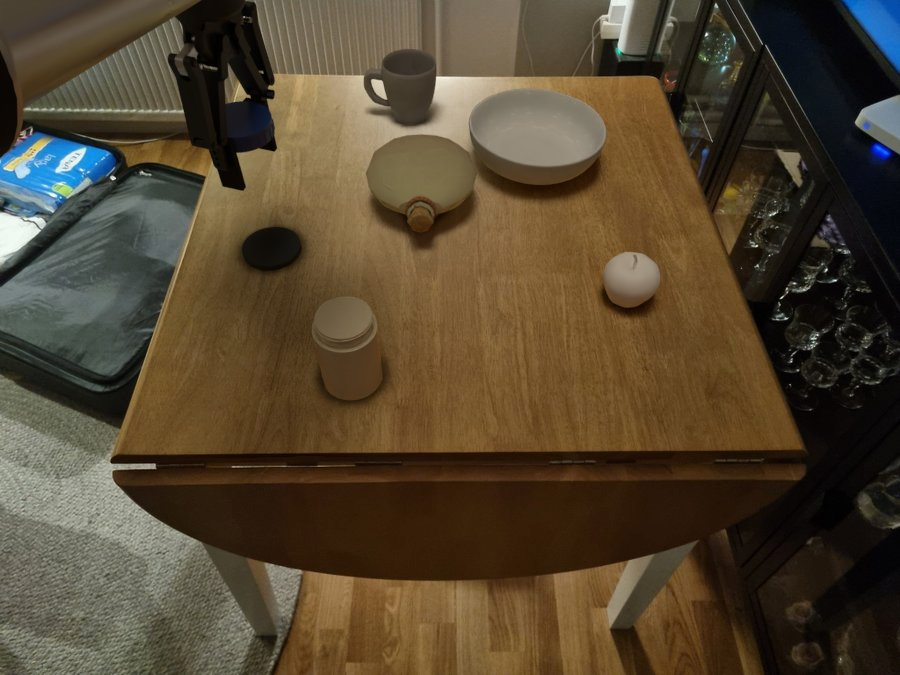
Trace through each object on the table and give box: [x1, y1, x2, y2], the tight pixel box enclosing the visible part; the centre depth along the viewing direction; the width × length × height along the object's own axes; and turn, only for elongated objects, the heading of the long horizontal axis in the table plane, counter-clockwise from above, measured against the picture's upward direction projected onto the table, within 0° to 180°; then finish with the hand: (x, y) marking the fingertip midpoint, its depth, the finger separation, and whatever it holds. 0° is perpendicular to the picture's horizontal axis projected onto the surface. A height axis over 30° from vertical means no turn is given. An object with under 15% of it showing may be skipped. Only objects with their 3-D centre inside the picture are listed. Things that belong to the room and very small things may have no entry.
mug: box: [363, 48, 437, 126], centre depth 107 cm, size 12×9×10 cm
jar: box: [311, 295, 384, 401], centre depth 72 cm, size 7×7×11 cm
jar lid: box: [215, 100, 276, 154], centre depth 75 cm, size 8×8×2 cm
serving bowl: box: [468, 87, 608, 186], centre depth 101 cm, size 21×21×7 cm
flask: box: [365, 134, 478, 233], centre depth 92 cm, size 9×16×18 cm
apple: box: [602, 251, 661, 309], centre depth 82 cm, size 7×7×8 cm
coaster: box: [241, 226, 302, 271], centre depth 89 cm, size 8×8×1 cm
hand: (250, 166), depth 79 cm, fingers closed on jar lid, 7 cm apart
